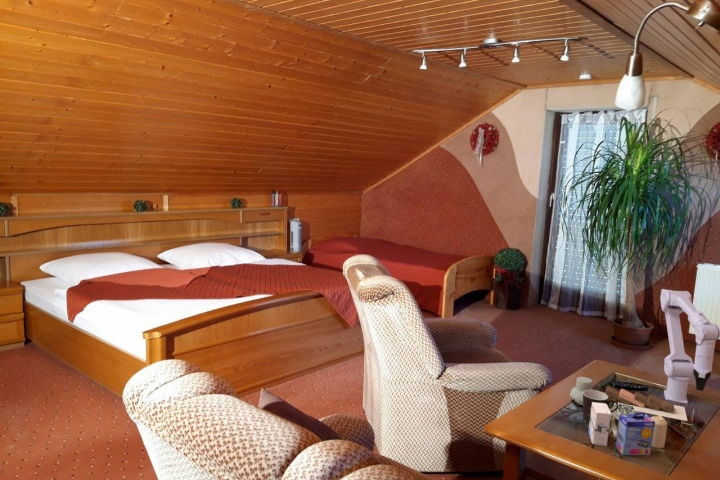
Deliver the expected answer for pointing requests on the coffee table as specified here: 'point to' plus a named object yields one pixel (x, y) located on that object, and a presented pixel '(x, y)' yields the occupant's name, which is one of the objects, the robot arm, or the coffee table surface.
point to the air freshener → (581, 389)
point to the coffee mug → (596, 397)
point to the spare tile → (630, 397)
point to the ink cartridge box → (635, 434)
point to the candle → (659, 432)
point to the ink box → (599, 423)
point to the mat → (659, 411)
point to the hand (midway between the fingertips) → (699, 389)
